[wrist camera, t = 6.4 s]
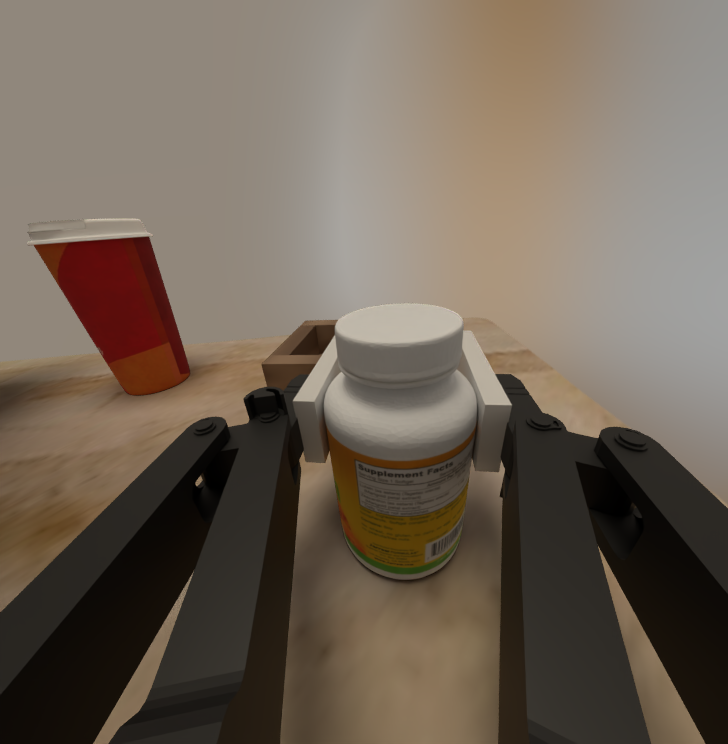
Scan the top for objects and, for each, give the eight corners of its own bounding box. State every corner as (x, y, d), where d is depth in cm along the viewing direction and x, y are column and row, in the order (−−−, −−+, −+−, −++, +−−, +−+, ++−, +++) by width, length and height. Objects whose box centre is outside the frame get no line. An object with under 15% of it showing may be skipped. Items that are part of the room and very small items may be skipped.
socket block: (264, 414, 22) (251, 367, 20) (308, 354, 32) (302, 319, 30) (410, 417, 20) (410, 367, 19) (410, 353, 30) (410, 316, 28)
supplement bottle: (354, 472, 16) (334, 299, 12) (453, 479, 15) (472, 295, 11) (329, 575, 12) (281, 353, 7) (469, 594, 11) (515, 353, 6)
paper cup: (159, 362, 33) (98, 224, 26) (217, 364, 31) (168, 217, 25) (87, 400, 26) (-17, 226, 20) (157, 405, 24) (68, 217, 18)
